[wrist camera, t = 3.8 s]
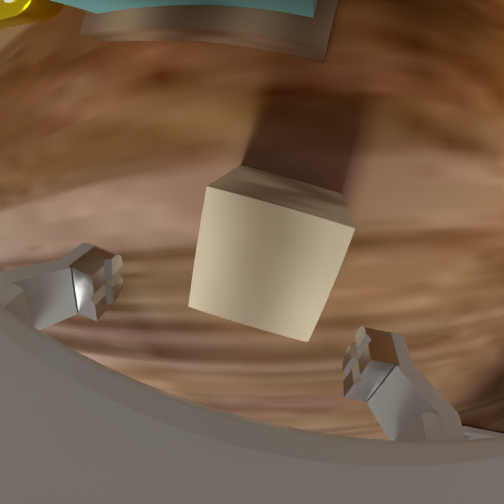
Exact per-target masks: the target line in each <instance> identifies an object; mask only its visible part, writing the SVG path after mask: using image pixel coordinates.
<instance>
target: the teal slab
mask: <svg viewBox="0 0 504 504" xmlns="http://www.w3.org/2000/svg"><path fill="white" fill-rule="evenodd" d="M50 1H54V2H58V3H62V4H66V5H70V6H73V7H77V8H80V9H83V10H86V11H90V12H93V13H96V14H99V13H105V12H111V11H117V10H125V9H133V8H142V7H154V6H171V5H217V6H234V7H246V8H256V9H264V10H272V11H279V12H285V13H291V14H296V15H301V16H306V17H311V18H314V13H315V9H316V5H317V1H318V0H50Z"/></svg>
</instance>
